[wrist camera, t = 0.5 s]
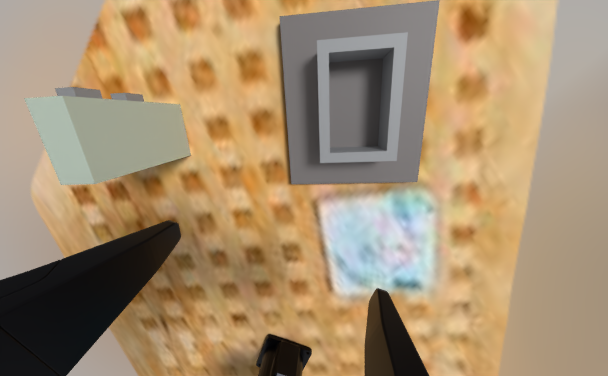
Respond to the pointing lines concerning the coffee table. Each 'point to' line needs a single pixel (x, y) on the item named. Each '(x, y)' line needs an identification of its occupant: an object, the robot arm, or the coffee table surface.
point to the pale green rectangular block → (106, 134)
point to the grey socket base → (357, 92)
